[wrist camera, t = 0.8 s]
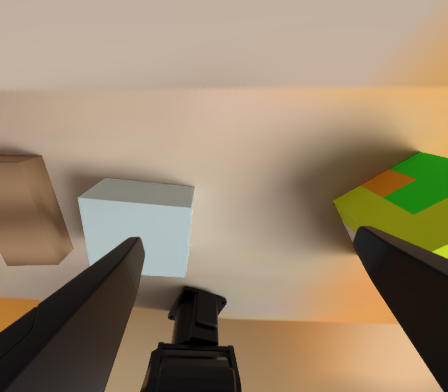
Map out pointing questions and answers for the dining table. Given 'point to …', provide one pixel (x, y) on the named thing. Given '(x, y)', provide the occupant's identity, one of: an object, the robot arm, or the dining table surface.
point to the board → (30, 214)
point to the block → (140, 222)
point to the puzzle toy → (403, 203)
